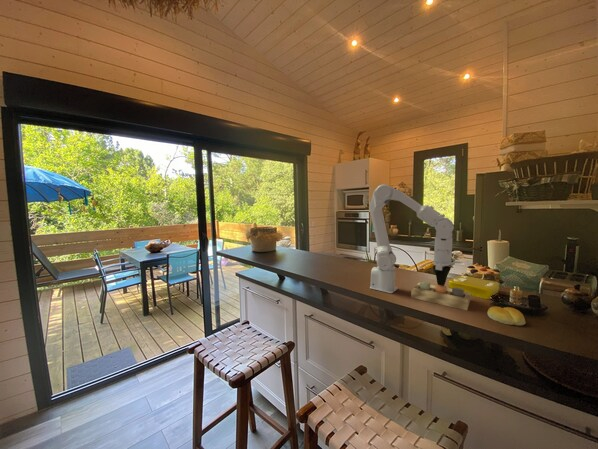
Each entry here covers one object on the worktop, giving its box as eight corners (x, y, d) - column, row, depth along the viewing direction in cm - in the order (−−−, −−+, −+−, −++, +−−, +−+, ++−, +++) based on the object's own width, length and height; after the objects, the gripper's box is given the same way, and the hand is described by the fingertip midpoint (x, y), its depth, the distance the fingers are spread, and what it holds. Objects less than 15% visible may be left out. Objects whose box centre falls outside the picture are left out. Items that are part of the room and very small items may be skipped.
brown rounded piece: (434, 295, 93) (434, 286, 93) (436, 292, 96) (436, 283, 95) (445, 297, 91) (445, 288, 90) (446, 294, 93) (447, 285, 93)
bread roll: (482, 312, 82) (483, 301, 81) (515, 316, 79) (516, 304, 79) (494, 324, 74) (495, 311, 74) (530, 328, 71) (531, 315, 71)
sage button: (418, 291, 96) (419, 283, 96) (420, 289, 99) (421, 281, 99) (428, 294, 94) (429, 285, 94) (430, 291, 97) (431, 283, 97)
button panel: (411, 297, 94) (411, 290, 94) (418, 289, 103) (419, 282, 103) (467, 310, 83) (467, 301, 83) (470, 300, 92) (470, 292, 92)
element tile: (490, 301, 92) (490, 288, 92) (446, 290, 104) (447, 279, 104) (499, 292, 102) (500, 281, 102) (458, 283, 114) (459, 273, 113)
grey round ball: (451, 298, 89) (451, 289, 89) (452, 296, 92) (453, 287, 92) (462, 301, 87) (463, 291, 87) (463, 298, 90) (464, 289, 90)
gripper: (452, 254, 84) (450, 292, 85) (457, 248, 95) (455, 282, 96) (429, 251, 88) (428, 288, 89) (437, 246, 99) (435, 279, 100)
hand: (441, 285), depth 93 cm, fingers closed
